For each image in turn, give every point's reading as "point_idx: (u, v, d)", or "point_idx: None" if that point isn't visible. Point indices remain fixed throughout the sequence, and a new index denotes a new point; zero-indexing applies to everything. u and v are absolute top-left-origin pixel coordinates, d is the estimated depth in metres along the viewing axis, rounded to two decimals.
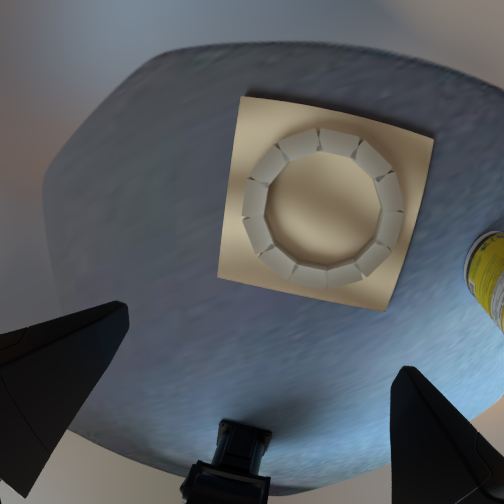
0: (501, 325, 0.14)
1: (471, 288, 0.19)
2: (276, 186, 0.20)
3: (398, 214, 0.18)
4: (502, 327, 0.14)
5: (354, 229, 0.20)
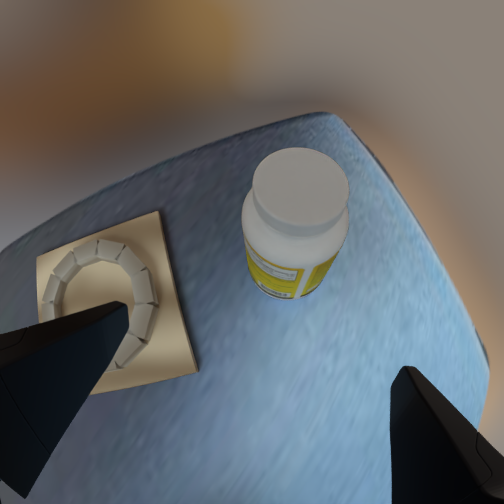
0: (269, 263, 0.16)
1: (267, 290, 0.21)
2: (64, 306, 0.22)
3: (142, 273, 0.22)
4: (271, 263, 0.16)
5: None
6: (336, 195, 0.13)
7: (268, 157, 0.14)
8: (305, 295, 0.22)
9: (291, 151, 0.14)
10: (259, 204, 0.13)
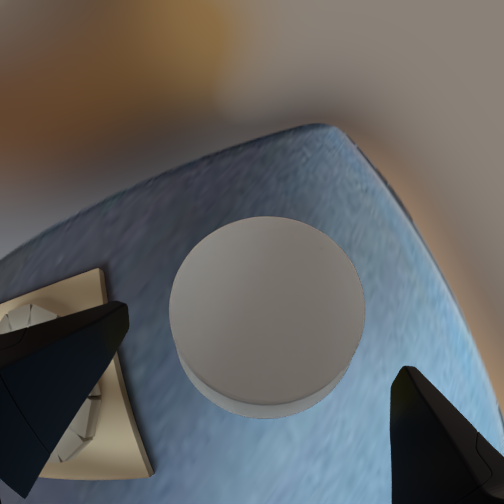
0: None
1: None
2: None
3: None
4: None
5: None
6: (338, 333, 0.06)
7: (204, 242, 0.07)
8: None
9: (251, 227, 0.07)
10: (179, 352, 0.06)
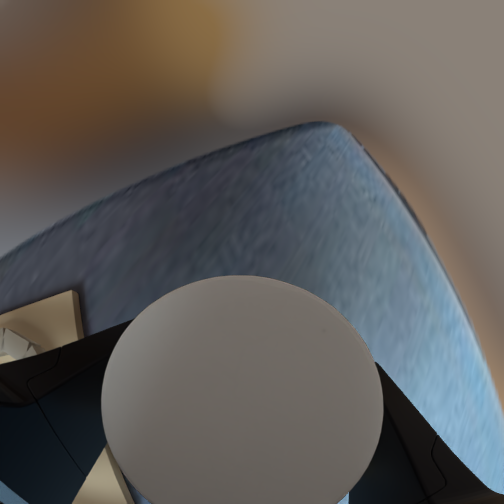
0: None
1: None
2: None
3: None
4: None
5: None
6: (340, 456, 0.04)
7: (144, 317, 0.05)
8: None
9: (214, 294, 0.05)
10: (119, 462, 0.04)
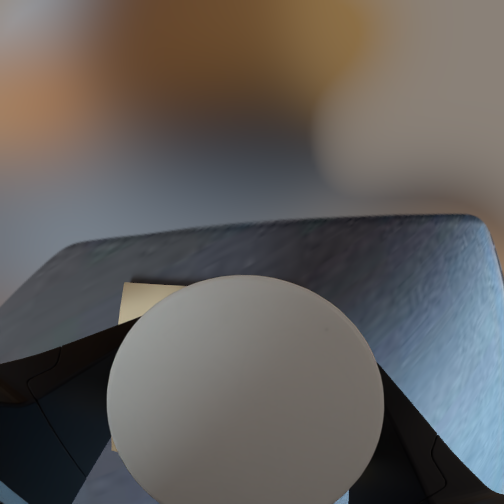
0: None
1: None
2: None
3: None
4: None
5: None
6: (342, 453, 0.04)
7: (149, 316, 0.05)
8: None
9: (219, 294, 0.05)
10: (124, 460, 0.04)
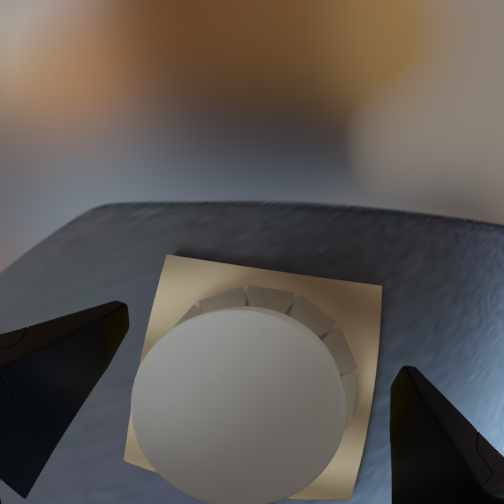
0: None
1: None
2: None
3: (350, 376, 0.14)
4: None
5: None
6: (312, 446, 0.05)
7: (164, 340, 0.06)
8: None
9: (218, 324, 0.06)
10: (144, 452, 0.05)
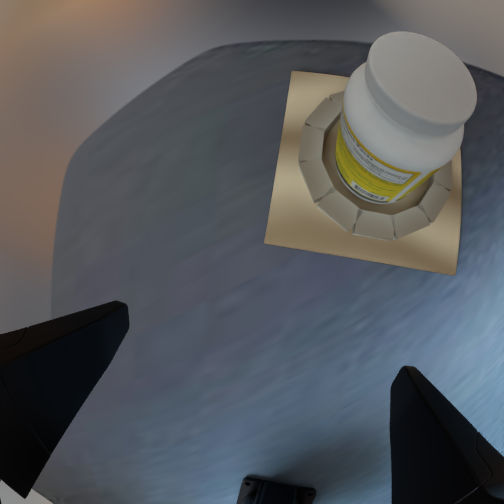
0: (382, 163, 0.12)
1: (362, 192, 0.17)
2: (329, 140, 0.19)
3: None
4: (385, 163, 0.12)
5: None
6: (465, 93, 0.08)
7: (381, 38, 0.08)
8: (400, 199, 0.17)
9: (405, 35, 0.08)
10: (382, 92, 0.08)
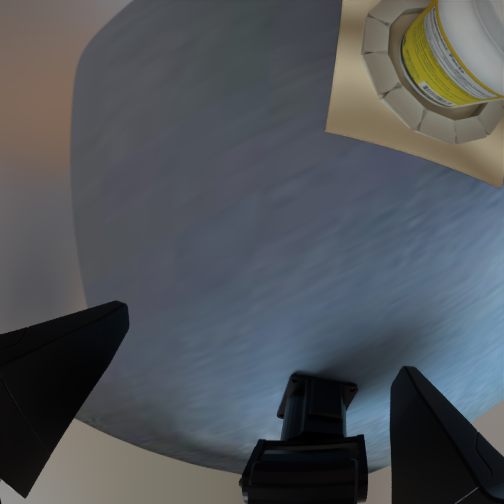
0: (473, 79, 0.08)
1: (430, 93, 0.13)
2: (391, 34, 0.14)
3: None
4: (477, 80, 0.08)
5: None
6: None
7: None
8: None
9: None
10: (499, 22, 0.04)
